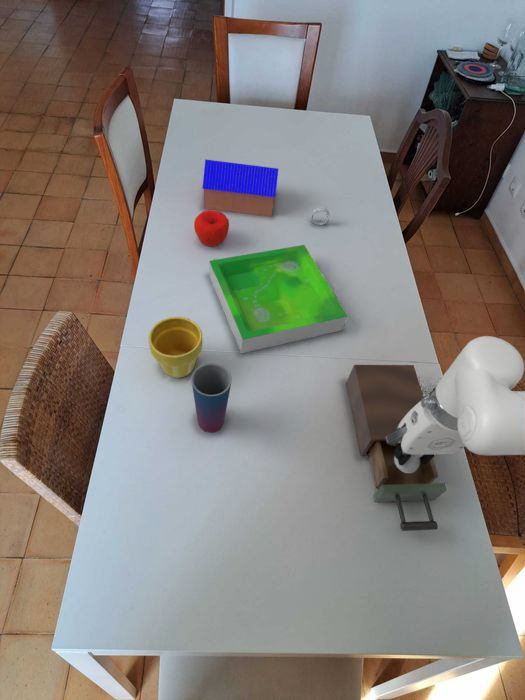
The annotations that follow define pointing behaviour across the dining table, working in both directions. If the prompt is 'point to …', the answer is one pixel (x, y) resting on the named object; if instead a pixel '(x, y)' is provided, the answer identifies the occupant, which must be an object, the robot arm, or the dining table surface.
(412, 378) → the cabinet
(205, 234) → the apple
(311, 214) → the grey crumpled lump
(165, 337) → the flower pot
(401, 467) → the rook chess piece
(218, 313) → the dining table surface
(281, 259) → the tray
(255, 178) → the house
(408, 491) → the drawer
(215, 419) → the cup
